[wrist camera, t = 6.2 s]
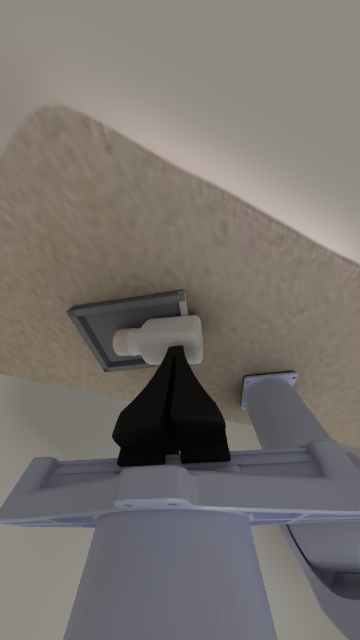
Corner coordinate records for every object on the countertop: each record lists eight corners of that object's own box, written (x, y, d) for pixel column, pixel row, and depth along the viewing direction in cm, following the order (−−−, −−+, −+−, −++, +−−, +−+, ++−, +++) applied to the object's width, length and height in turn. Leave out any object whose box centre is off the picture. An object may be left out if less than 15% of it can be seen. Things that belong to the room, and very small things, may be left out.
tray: (194, 355, 20) (195, 362, 19) (108, 365, 21) (104, 372, 20) (184, 289, 15) (185, 293, 14) (73, 306, 16) (65, 311, 15)
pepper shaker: (203, 340, 17) (134, 343, 19) (200, 312, 15) (123, 319, 17) (203, 366, 14) (119, 367, 16) (199, 334, 12) (103, 340, 14)
